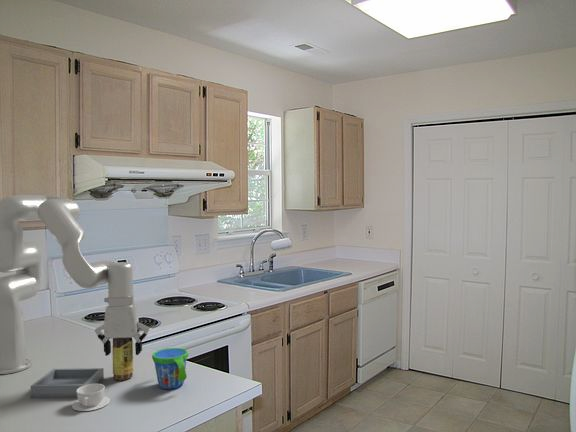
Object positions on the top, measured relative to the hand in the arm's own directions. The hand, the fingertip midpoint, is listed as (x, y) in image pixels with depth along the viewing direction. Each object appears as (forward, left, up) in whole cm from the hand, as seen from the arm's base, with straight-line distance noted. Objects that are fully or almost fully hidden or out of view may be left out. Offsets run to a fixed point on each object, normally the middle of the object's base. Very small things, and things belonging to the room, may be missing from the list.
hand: (123, 354), depth 160 cm
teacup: (-3, -20, -8) cm, 22 cm away
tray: (-14, -8, -8) cm, 18 cm away
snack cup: (+17, -7, -8) cm, 20 cm away
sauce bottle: (0, 0, -8) cm, 8 cm away
